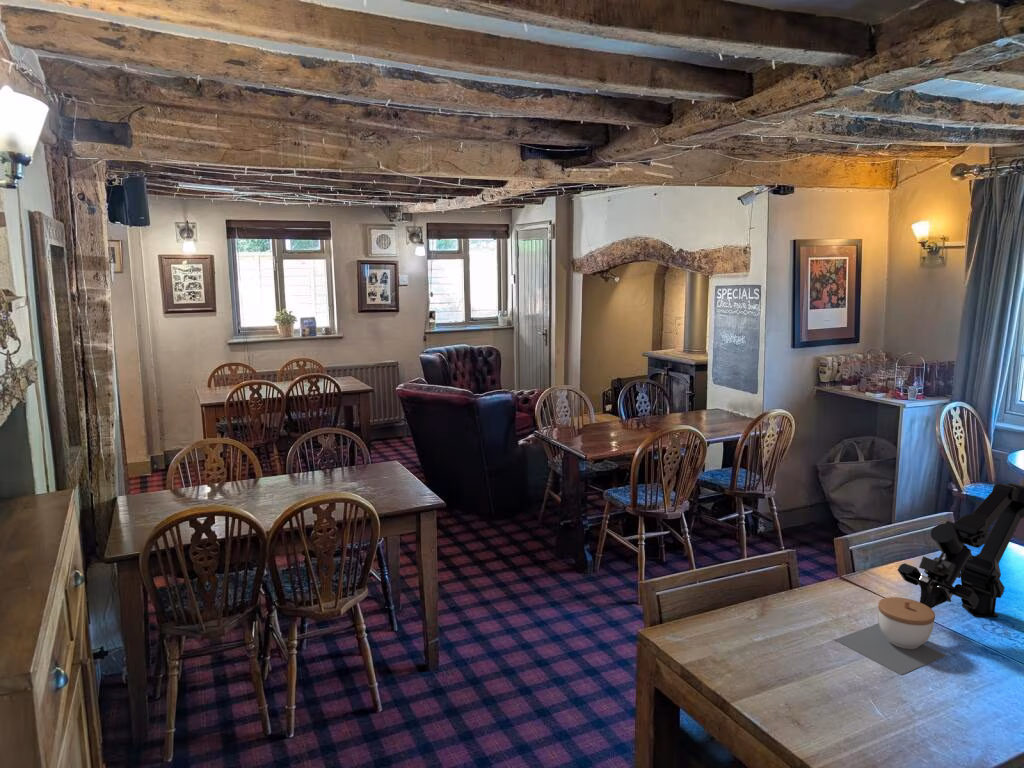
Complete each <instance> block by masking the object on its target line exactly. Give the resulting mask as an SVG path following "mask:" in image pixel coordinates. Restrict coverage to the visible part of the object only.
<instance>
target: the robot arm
mask: <svg viewBox="0 0 1024 768" xmlns="http://www.w3.org/2000/svg"><path fill="white" fill-rule="evenodd" d="M1022 519H1024V485H1021V484H1016V483H1013V482H1010V483H1006V484H1004V483H1002V482H1001V483H995V484H994V485H993V488H992V491H991V492H990V493H989V494H988V495H987V496H986V497H985V499H984V500H983V501H982V502H981V503H980V504H979V505H978V507H976V509H975V510H974V511H973V512H972V513H970V514H966V515H963V516H961V517H960V518H959V519H957V520H956V521H955V522H952V521H949V520H946V521H945V523H940V524H938V525H936V526H934V527H932V528H931V530H930V537H931V538H932V540H933V542H934V544H935V545H936V547H937V548H938V550H939V551H940V552H941V553H940V555H939V557H934V558H933V559H932V558H930V557H926V556H922V559H921V561H920V564H919V566H918V568H917V567H916V566H914V565H913V566H912V565H910V564H907V563H902V564H900V565H899V566H898V568H897V571H898V573H899V575H900V576H901V578H902V580H903V581H904V582H907V583H909V584H911V585H914V586H919V587H920V597H919V602H920V603H922V604H925V605H926V606H928V607H929V608H931V609H934V608H936V607H938V606H939V605H941V604H944V603H947V602H949V603H951V602H952V599H951V598H953V596H956V597H958V598H960V600H961V607H962V608H964V609H965V610H966V611H968V613H969V614H970V615H972V616H973V617H986V618H999V615H998V613H997V612H996V604H997V598H998V599H1000V598H1002V596H1003V595H1004V593H1005V586H1004V583H1002V580H1001V579H1000V578H1001V576H1002V574H1001V569H1000V562H1001V560H1002V558H1003V555H1004V554H1005V551H1006V550H1007V548H1008V545H1010V544H1009V543H1010V542H1011V540H1012V538H1013V536H1014V533H1015V532H1016V529H1017V528H1018V526H1019V523H1020V522H1021V520H1022ZM994 522H995V523H994ZM992 524H994V525H993V526H992V528H991V530H990V532H989V528H990V527H991V525H992ZM968 546H969V547H973V548H978V549H979V548H981V547H982V548H981V550H980V552H979V553H978V554H976V555H973V554H972V549H970V548H969V547H968ZM919 569H922V570H924V571H923V572H924V573H925V574H926V575H925V574H923V573H921V572H920V570H919ZM957 579H960V582H961V583H957V584H955V582H956V580H957ZM954 584H955V585H954Z"/></svg>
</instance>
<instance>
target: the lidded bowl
mask: <svg viewBox="0 0 1024 768" xmlns="http://www.w3.org/2000/svg"><path fill="white" fill-rule="evenodd" d="M877 609H878V611H877V612H878V613H877V617H878V618H877V620H878V623H879V626H880V629H881V631H882V632H883V634H884V635H885V636H886V637H887V639H888V641H889V642H890V643H892V644H893V645H895V646H898V647H901V648H905V649H916V648H918V647H919V646H920V645H922V644H924V645H925V643H926V642H927V641H928V640H929V639H930V637H931V635H932V632H933V629H934V625H935V624H934V623H935V620H936V614H935V611H934V610H933V608H929V607H928V606H926V605H925V604H922V603H920V601H917V600H914V599H911V598H905V597H897V596H891V597H884V598H881V599H880V600H879V601H878V606H877Z"/></svg>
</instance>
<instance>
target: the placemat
mask: <svg viewBox="0 0 1024 768" xmlns="http://www.w3.org/2000/svg"><path fill="white" fill-rule="evenodd" d="M834 641H835V642H837V643H839V644H841V645H842V646H844V647H846V648H849V650H852V651H854V652H856V653H858V654H860V655H862V656H864V657H865V658H867V659H869V660H871V661H872V662H873V661H874V662H876V664H879V665H881V666H883V667H884V668H886V669H888V670H890V671H893V672H894V673H896V674H897V675H900V676H903V675H905V674H908V673H910V672H912V671H914V670H917V669H919V668H922V667H924V666H926V665H929V664H932V663H934V662H935V661H938V660H939V659H943V658H945V657H946V656H947V654H945V653H942V652H941V651H939V650H936V649H934V648H932V647H930V646H928V645H926V644H925V643H924V644H922V645H920V646H919V647H918V648H916V649H905V648H901V647H898V646H895V645H893V644H892V643H890V642H889V641H888V639H887V637H886V636H885V635H884V634H883V632H882V631H881V629H880V626H879V622H878V623H876V624H873V625H870V626H867V627H865V628H863V629H859V630H856V631H854V632H851V633H849V634H846V635H843V636H840V637H838V638H835V639H834Z"/></svg>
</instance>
